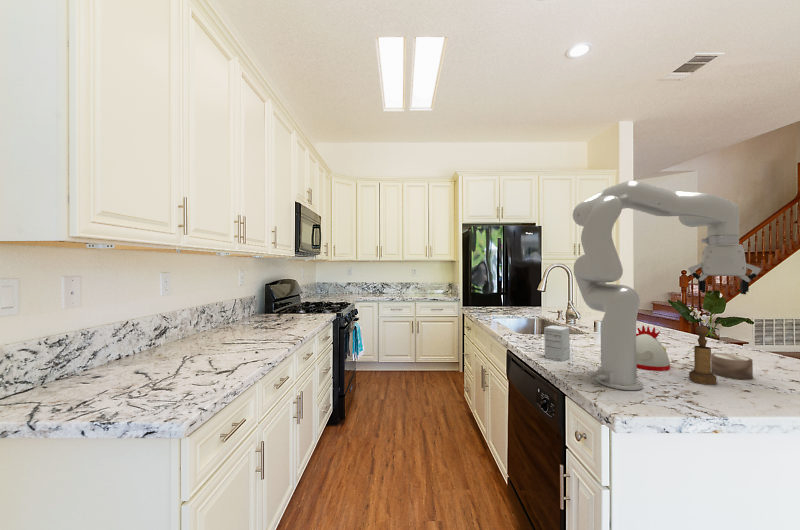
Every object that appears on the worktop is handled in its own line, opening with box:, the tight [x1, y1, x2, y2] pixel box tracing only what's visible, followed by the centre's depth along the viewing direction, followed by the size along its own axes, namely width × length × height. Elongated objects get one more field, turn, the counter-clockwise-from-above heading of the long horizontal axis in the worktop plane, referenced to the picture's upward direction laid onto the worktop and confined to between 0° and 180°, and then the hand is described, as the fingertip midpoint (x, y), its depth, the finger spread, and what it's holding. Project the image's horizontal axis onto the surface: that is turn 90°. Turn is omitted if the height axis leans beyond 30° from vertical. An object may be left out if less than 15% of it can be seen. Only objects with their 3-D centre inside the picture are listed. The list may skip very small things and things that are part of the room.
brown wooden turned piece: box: [688, 325, 717, 386], centre depth 106 cm, size 7×6×18 cm
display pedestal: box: [711, 352, 754, 381], centre depth 112 cm, size 10×10×6 cm
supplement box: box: [543, 324, 571, 362], centre depth 134 cm, size 7×7×13 cm
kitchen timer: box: [636, 325, 671, 372], centre depth 124 cm, size 14×14×15 cm
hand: (722, 293), depth 108 cm, fingers open, 9 cm apart
